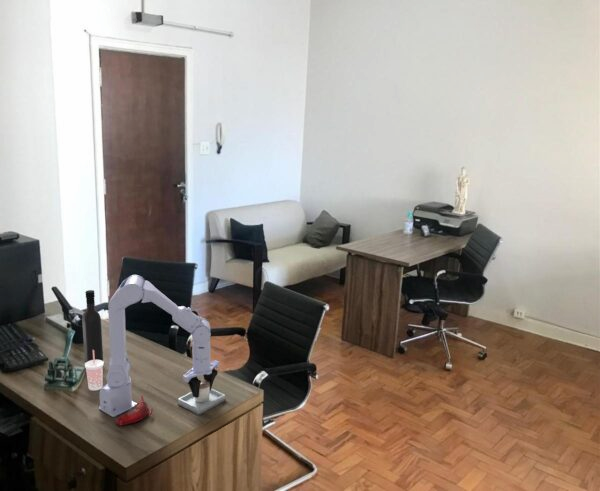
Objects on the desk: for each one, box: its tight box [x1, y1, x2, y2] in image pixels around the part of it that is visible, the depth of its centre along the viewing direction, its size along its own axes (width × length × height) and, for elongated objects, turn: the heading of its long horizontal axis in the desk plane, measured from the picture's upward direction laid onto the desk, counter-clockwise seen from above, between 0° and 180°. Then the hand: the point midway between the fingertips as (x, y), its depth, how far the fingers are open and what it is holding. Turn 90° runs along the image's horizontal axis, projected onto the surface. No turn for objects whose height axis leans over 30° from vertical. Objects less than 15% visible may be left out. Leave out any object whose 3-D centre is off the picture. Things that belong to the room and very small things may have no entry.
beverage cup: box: [84, 350, 105, 391], centre depth 188 cm, size 6×6×14 cm
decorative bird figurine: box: [115, 395, 154, 426], centre depth 174 cm, size 3×18×10 cm
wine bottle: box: [81, 289, 104, 368], centre depth 199 cm, size 6×6×30 cm
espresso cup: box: [194, 378, 210, 402], centre depth 181 cm, size 5×5×6 cm
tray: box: [177, 388, 226, 416], centre depth 182 cm, size 12×10×2 cm
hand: (201, 393), depth 182 cm, fingers closed on espresso cup, 5 cm apart
